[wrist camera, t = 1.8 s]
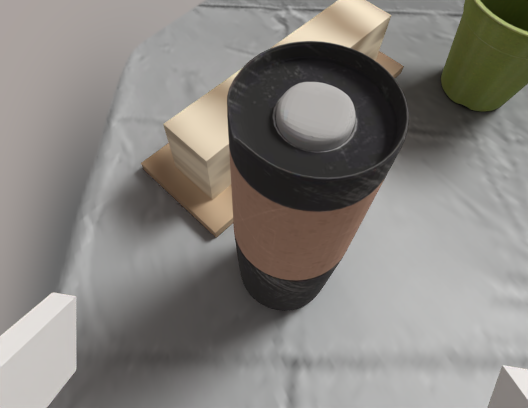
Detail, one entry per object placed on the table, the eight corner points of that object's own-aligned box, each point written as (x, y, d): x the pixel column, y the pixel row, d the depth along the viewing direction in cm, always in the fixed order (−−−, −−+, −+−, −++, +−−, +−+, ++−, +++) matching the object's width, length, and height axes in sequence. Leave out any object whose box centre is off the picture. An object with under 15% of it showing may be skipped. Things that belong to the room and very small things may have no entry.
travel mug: (345, 258, 35) (443, 88, 17) (296, 334, 32) (355, 221, 14) (271, 211, 37) (291, 15, 19) (218, 278, 33) (184, 117, 16)
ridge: (331, 29, 48) (343, -28, 42) (400, 73, 45) (424, 18, 39) (143, 169, 38) (123, 120, 32) (216, 237, 35) (209, 198, 29)
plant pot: (482, 149, 41) (557, 61, 31) (397, 78, 45) (439, -19, 35) (551, 98, 44) (638, 4, 34) (466, 36, 49) (522, -63, 39)
